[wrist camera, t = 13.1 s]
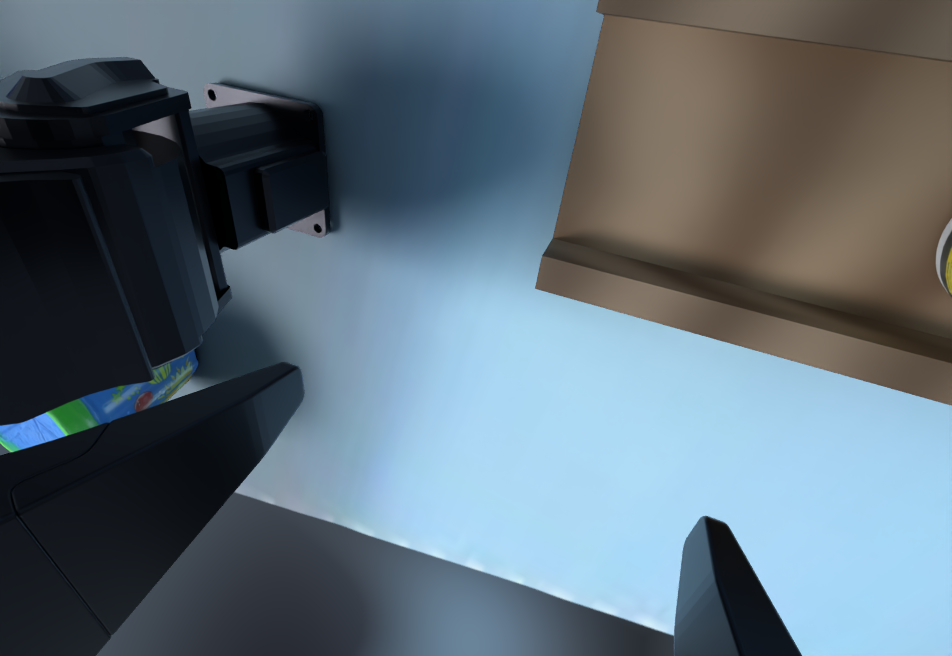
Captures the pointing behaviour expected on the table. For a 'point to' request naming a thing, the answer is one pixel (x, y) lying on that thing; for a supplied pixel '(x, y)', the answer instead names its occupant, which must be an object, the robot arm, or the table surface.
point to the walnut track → (770, 180)
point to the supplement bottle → (945, 258)
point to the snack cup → (100, 407)
